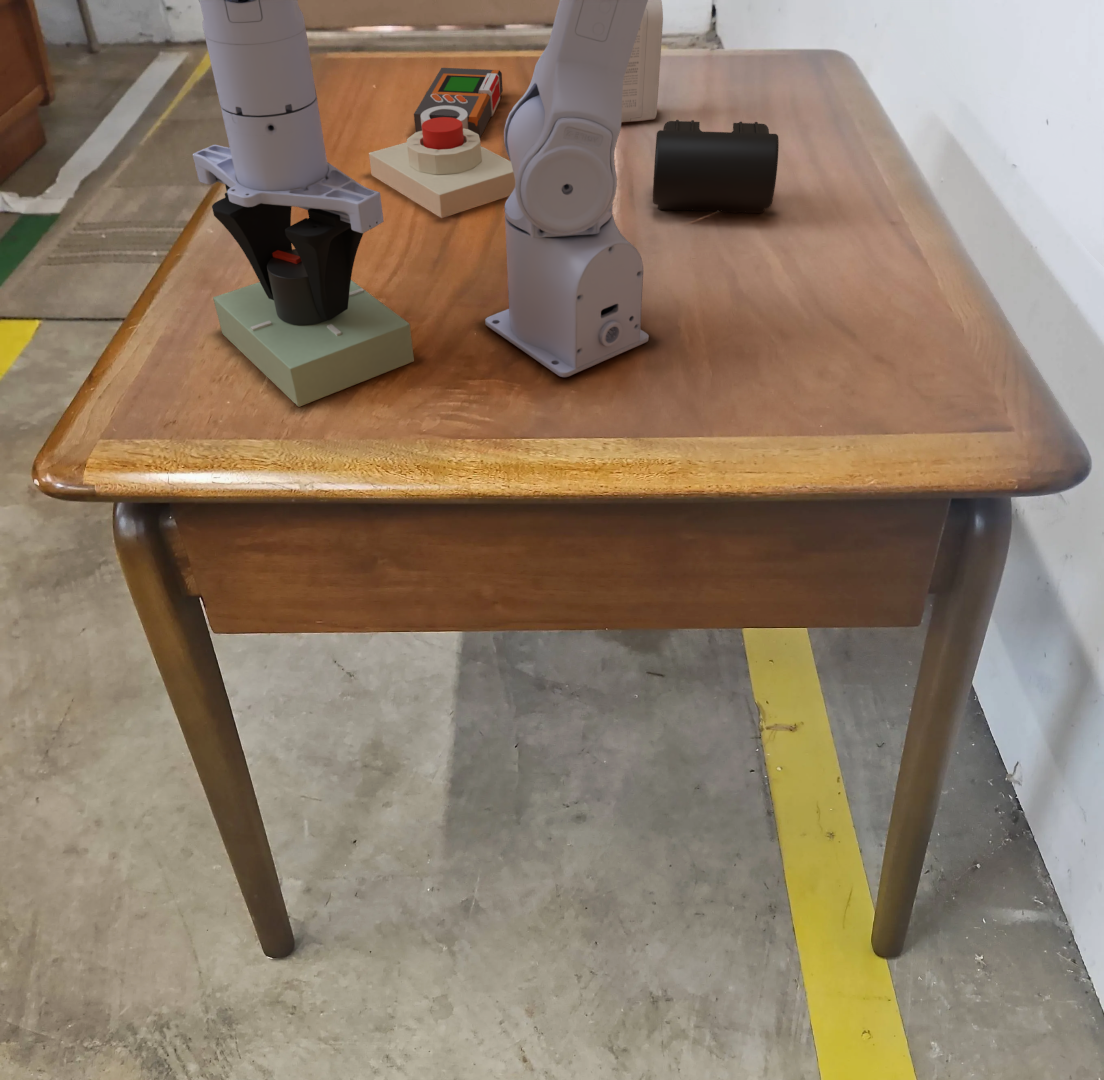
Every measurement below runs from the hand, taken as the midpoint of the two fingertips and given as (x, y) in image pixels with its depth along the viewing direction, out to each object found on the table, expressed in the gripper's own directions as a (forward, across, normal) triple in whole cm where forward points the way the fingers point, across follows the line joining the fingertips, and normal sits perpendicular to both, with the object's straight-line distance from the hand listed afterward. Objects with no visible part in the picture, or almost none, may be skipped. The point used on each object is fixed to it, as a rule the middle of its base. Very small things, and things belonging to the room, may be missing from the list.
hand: (307, 303), depth 70 cm
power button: (0, -10, +28) cm, 29 cm away
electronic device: (+4, -19, +41) cm, 45 cm away
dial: (0, 0, 0) cm, 0 cm away
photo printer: (+4, -6, +49) cm, 50 cm away
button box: (+3, -10, +28) cm, 29 cm away
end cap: (+4, +13, +36) cm, 38 cm away
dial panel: (+3, 0, 0) cm, 3 cm away
